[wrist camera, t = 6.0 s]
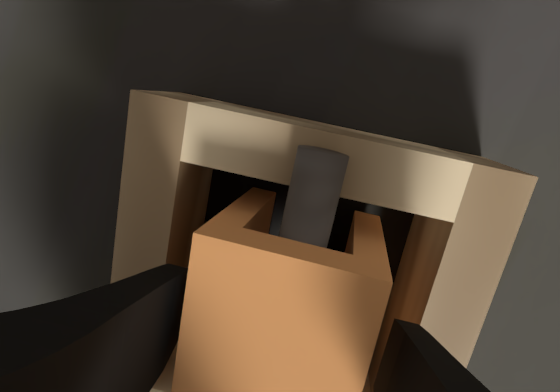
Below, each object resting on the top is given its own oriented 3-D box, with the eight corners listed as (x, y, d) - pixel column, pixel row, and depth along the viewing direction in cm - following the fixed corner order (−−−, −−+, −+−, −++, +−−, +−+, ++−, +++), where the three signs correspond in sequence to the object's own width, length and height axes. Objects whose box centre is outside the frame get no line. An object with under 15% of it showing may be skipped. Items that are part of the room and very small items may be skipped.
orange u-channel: (230, 318, 14) (166, 424, 10) (252, 187, 13) (193, 232, 8) (344, 350, 14) (337, 480, 9) (379, 216, 13) (393, 282, 8)
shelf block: (146, 347, 16) (73, 447, 11) (180, 92, 13) (104, 88, 9) (396, 412, 15) (425, 545, 11) (482, 156, 13) (568, 188, 8)
